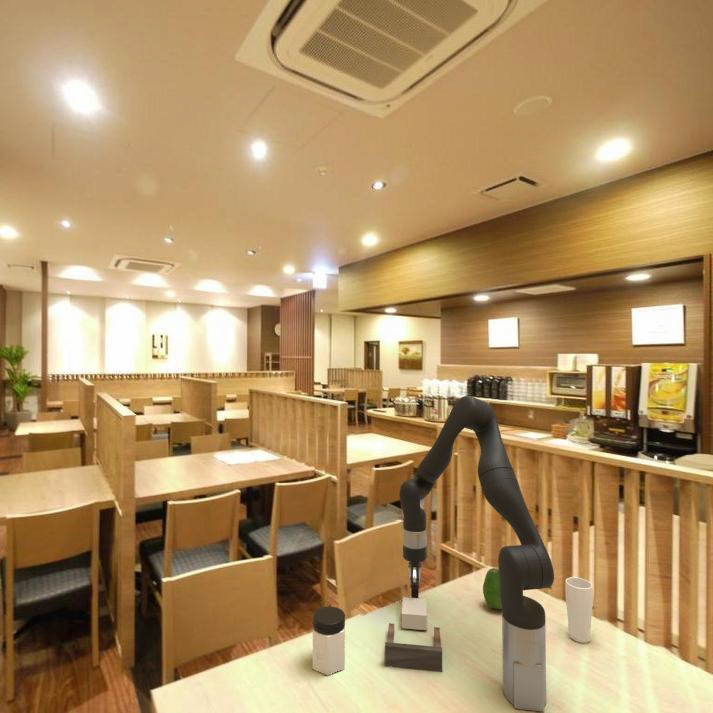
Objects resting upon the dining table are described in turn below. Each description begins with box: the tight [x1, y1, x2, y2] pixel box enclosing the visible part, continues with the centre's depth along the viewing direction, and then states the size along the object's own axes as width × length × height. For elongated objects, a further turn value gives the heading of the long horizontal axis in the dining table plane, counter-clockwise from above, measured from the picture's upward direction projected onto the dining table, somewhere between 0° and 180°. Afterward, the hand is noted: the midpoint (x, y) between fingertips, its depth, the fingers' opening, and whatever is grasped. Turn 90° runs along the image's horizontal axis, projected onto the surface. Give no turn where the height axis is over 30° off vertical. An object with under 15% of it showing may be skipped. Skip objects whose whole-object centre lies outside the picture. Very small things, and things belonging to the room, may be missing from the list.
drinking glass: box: [564, 576, 594, 644], centre depth 120 cm, size 7×7×15 cm
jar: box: [312, 606, 346, 676], centre depth 109 cm, size 9×8×12 cm
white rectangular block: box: [401, 596, 428, 631], centre depth 127 cm, size 9×7×5 cm
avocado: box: [482, 567, 502, 610], centre depth 134 cm, size 8×8×12 cm
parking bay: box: [384, 623, 443, 673], centre depth 114 cm, size 14×14×5 cm
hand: (414, 598), depth 136 cm, fingers closed
